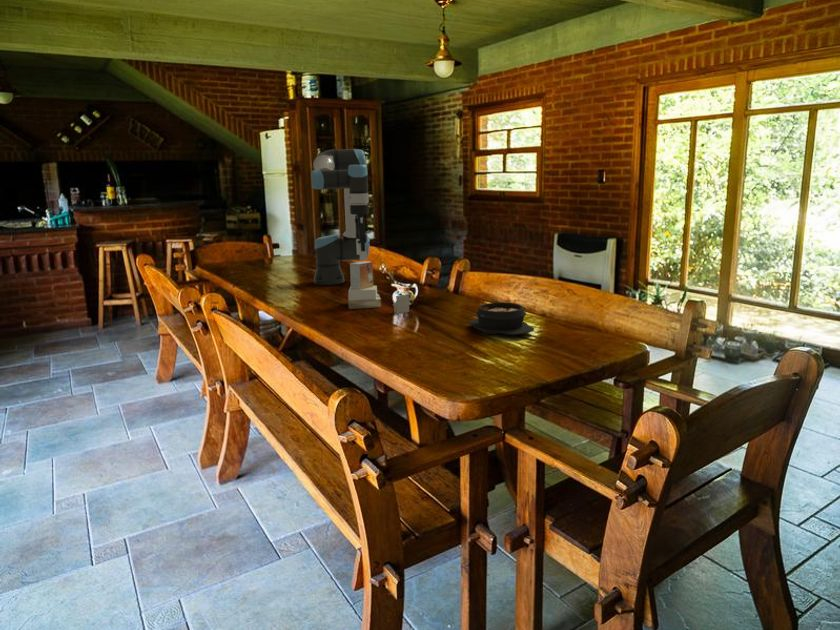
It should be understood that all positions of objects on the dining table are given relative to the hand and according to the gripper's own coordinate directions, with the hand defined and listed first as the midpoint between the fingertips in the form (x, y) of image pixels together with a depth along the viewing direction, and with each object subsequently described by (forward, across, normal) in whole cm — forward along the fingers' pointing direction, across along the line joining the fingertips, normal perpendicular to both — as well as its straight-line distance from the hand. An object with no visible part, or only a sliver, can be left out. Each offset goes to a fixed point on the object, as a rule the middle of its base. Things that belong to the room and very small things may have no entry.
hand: (361, 256), depth 245 cm
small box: (+13, +1, 0) cm, 13 cm away
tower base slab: (+21, +2, 0) cm, 21 cm away
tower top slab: (+17, +2, 0) cm, 17 cm away
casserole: (+20, +55, +42) cm, 72 cm away
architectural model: (+20, +19, +13) cm, 31 cm away
